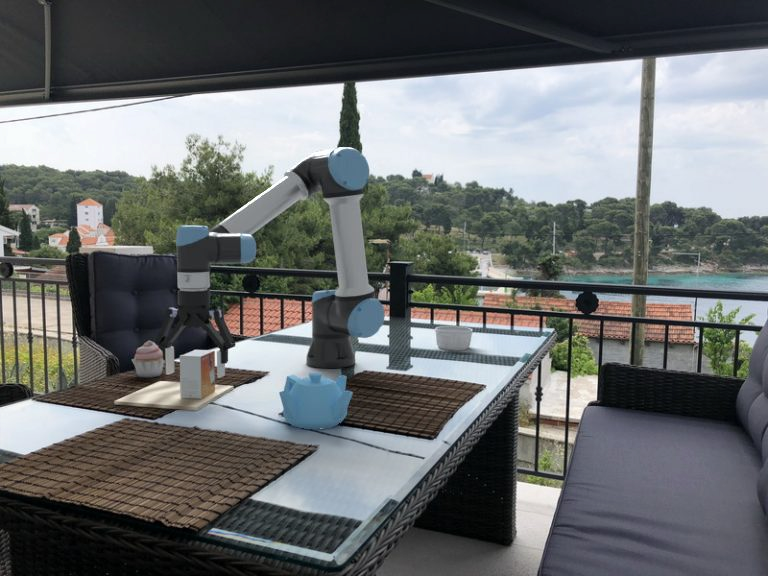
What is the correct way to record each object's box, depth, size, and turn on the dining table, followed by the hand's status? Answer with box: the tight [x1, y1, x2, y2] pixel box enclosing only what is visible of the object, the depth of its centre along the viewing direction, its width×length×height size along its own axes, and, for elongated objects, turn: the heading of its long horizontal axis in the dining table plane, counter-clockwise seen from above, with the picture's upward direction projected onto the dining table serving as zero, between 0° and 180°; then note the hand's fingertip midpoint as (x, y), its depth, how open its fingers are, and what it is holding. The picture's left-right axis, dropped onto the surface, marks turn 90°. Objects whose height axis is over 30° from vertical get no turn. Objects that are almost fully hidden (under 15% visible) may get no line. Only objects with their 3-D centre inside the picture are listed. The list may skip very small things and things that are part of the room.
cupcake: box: [131, 340, 166, 379], centre depth 178 cm, size 9×9×10 cm
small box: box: [179, 349, 216, 399], centre depth 156 cm, size 8×6×10 cm
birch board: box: [113, 380, 234, 411], centre depth 157 cm, size 21×20×1 cm
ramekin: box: [434, 325, 474, 351], centre depth 225 cm, size 13×13×7 cm
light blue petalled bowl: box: [279, 372, 354, 430], centre depth 139 cm, size 15×15×11 cm
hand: (195, 375), depth 156 cm, fingers open, 13 cm apart
